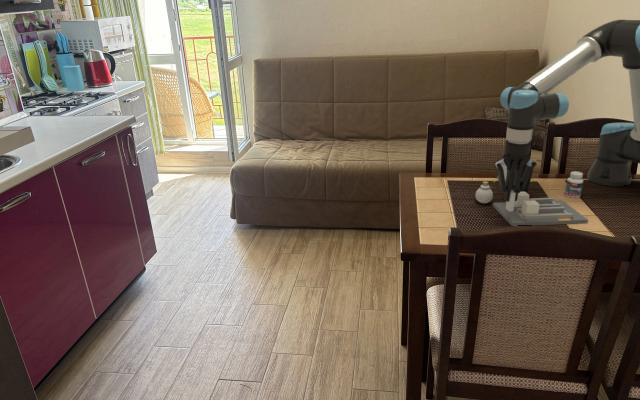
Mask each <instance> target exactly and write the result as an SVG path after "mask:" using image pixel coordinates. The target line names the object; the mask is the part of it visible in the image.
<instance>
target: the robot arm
mask: <svg viewBox="0 0 640 400" xmlns="http://www.w3.org/2000/svg"><path fill="white" fill-rule="evenodd" d="M605 57H606V58H607V57H617V58H618V57H619V58H621V63H622V67H623V68H624V69H625V70H627V71H628V77H629V85H630V96H631V106H632V116H633V122H611V123H606V124H604V125H602V128H601V131H600V133H599V139H598V145H597V150H596V156H595V160H594V161H593V164H592V165H591V167H590V169H589V171H588V172H587V175H586V178H587V180H588V181H590V182H592V183H594V184H596V185H597V184H598V185H602V186H606V185H607V186H606V187H625V186H624V185H627V186H629V185H630V184H631V183H632V178H633V177H632V171H631V166H630V163H631V162H634V163H636V164H640V19H615V20H612V21H608V22H607V23H606V22H605V23H604V24H601V25H599V26H598V27H595V28H594V29H592V30H591V31H589V32H587V33H586V34H584V35H583V36H582V37H581V38H579V39H578V40H577V41H576V44H575V45H574V46H572V47H571V48H570V49H569V50H567V51H565V52H564V53H563V54H562V55H560V56H559V57H557V58H556V59H555V60H553V61H552V62H551V63H549V64H548V65H546V66H545V67H544V68H542V69H541V70H539V71H538V72H536V73H535V74H534V75H532V76H531V77H530V78H527V80H525V81H524V82H523V83H521V84H519V86H517V87H516V86H509V87H506V88H504V89H503V91H502V92H501V94H500V97H499V101H500V105H501V106H502V107H503V108H504V109H506V110H508V117H507V127H506V133H505V134H506V137H505V139H506V140H505V142H504V143H505V144H504V154H503V156H502V158H501V160H499V161H494V166H495V168H496V170H497V177H498V179H499V180H498V179H497V180H498V185H499V189H500V190H501V191H503V192H504V196H503V197H504V198H503V199H504V201H505V202H506V209H507V210H508V211H513V209H514V202H515V201H517V198H518V193H520V191H521V190H525V188H526V185H527V182H528V180H529V177H530V175H531V172H532V170H533V171H534V169H535V167H536V166H537V162H536V161H535V160H533V159H531V156H530V152H531V148H532V142H531V141H532V139H533V132H534V126H535V122H536V121H541V120H542V121H543V120H549V119H551V120H553V119H556V118H560V117H563V116H566V115H565V114H567V112H568V110H569V107H570V101H569V98H568V97H567V96H566V95H565V94H563V93H559V92H558V93H557V92H554V93H549V92H551V91H552V90H554V89H555V88H556V87H557V86H559V85H561V84H562V83H564V82H565V81H566V80H568V79H569V78H570V77H572V76H574V75H575V74H576V73H577V72H579V71H580V70H581V69H583V68H584V67H586V66H588V64H590V63H595V62H597V61H599V60H600V59H602V58H605ZM504 163H505V165H506V166H507V175H506V181H505V176H504V170H503V167H504ZM526 164H527V165H526ZM525 165H526V167H525V170H524V172H523V167H524V166H525ZM522 172H523V175H522ZM514 173H515V174H514ZM532 173H533V172H532ZM513 175H514V181H513ZM521 175H522V178H521ZM512 183H513V190H512ZM628 184H629V185H628Z"/></svg>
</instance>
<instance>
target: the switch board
mask: <svg viewBox="0 0 640 400" xmlns="http://www.w3.org/2000/svg"><path fill="white" fill-rule="evenodd" d="M530 200H535V201H536V202H537V203H538V204H540V205H539V212H538V214H534V215H522V214H521V210H522V205H514V209H513V211H508V210H507V209H506V201H505V202H504V201H503V202H493V203H492V207H493V208H494V209H495V210H496V211H497V212H498V213H499V214H500V215H501V217H503V219H504V220H505V221H506V222H507V223H508V224H509V225H510V226H511V227H519V226H518V225H532V226H549V225H550V226H551V225H553V226H554V225H576V224H588V222H589V219H588V218H587V217H585V216H584V215H583V214H581V213H580V212H579V211H577V210H576V209H575V208H573V207H572V206H570V204H568V203H567V202H565V201H564V200H562V199H554V198H553V197H537V198H535V197H534V198H533V197H532V198H529V201H530Z"/></svg>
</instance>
